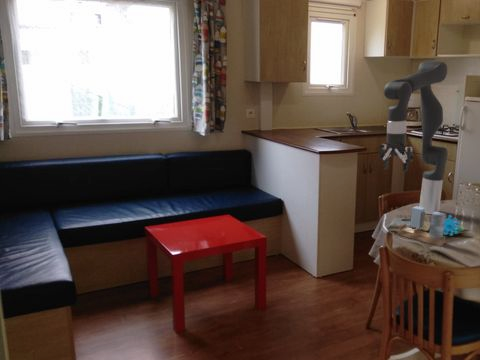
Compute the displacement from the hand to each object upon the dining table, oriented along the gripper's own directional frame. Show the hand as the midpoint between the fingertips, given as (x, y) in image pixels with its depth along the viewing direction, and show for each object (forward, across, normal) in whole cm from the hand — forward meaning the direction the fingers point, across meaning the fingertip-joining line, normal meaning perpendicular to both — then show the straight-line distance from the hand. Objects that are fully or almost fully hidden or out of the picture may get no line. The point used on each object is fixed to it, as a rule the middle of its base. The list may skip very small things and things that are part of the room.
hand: (395, 169), depth 184 cm
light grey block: (+29, -4, -12) cm, 32 cm away
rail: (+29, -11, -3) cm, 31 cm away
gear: (+30, -15, -18) cm, 38 cm away
